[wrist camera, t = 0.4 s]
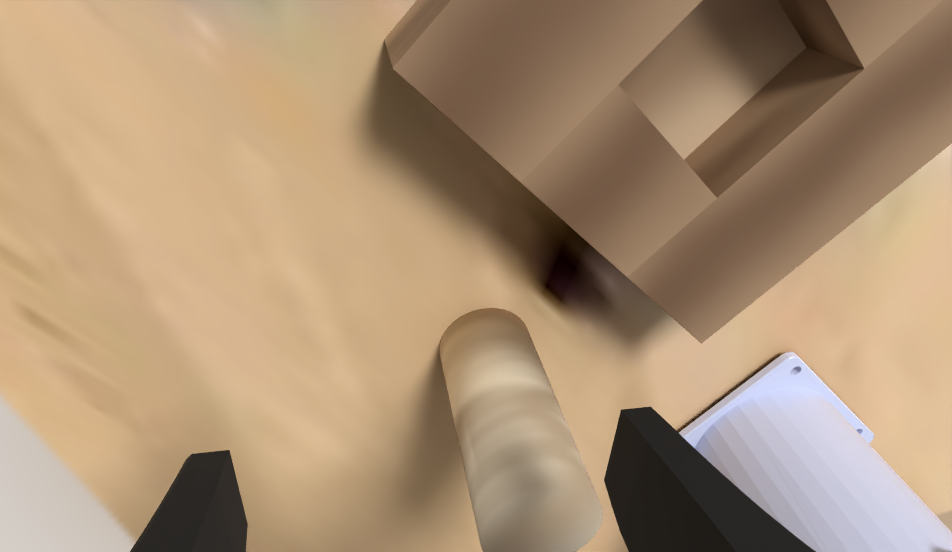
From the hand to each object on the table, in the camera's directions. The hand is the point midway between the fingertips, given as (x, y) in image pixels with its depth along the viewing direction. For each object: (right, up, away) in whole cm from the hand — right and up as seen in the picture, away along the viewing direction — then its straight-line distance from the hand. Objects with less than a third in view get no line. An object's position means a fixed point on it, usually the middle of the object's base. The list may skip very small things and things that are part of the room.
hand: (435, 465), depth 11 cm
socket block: (+7, +10, +7) cm, 15 cm away
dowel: (+1, +1, +12) cm, 12 cm away
